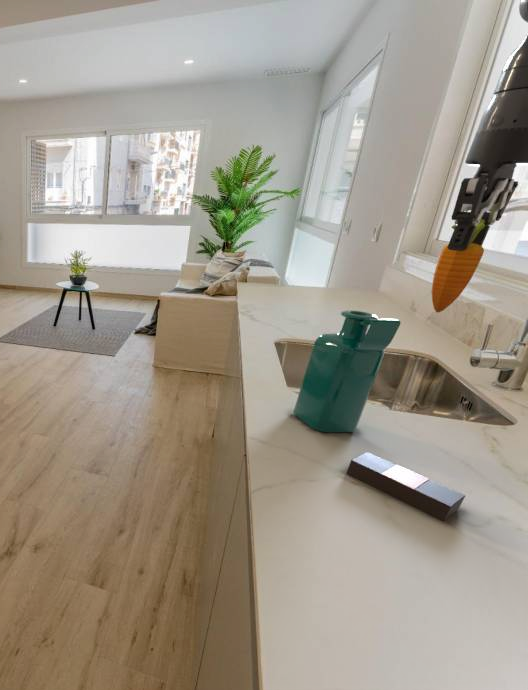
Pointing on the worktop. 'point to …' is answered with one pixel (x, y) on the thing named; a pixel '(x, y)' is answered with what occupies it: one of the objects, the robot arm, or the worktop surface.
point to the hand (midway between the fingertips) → (463, 249)
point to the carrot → (455, 271)
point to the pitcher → (343, 372)
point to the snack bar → (406, 485)
